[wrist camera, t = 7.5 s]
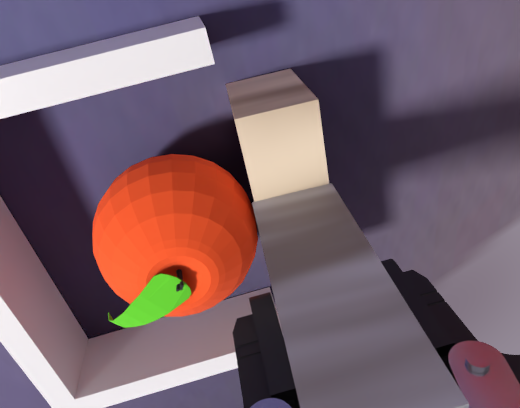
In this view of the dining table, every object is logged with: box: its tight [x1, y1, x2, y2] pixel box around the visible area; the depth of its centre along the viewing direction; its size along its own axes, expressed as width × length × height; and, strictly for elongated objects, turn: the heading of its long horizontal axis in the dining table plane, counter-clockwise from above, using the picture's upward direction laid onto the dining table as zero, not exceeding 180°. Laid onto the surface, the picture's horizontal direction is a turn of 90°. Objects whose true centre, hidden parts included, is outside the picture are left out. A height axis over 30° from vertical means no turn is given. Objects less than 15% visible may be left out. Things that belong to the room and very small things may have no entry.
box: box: [0, 16, 283, 408], centre depth 19 cm, size 16×12×4 cm
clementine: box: [92, 154, 258, 328], centre depth 18 cm, size 8×7×7 cm
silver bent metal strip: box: [226, 69, 469, 408], centre depth 15 cm, size 10×3×14 cm, turn 11°
